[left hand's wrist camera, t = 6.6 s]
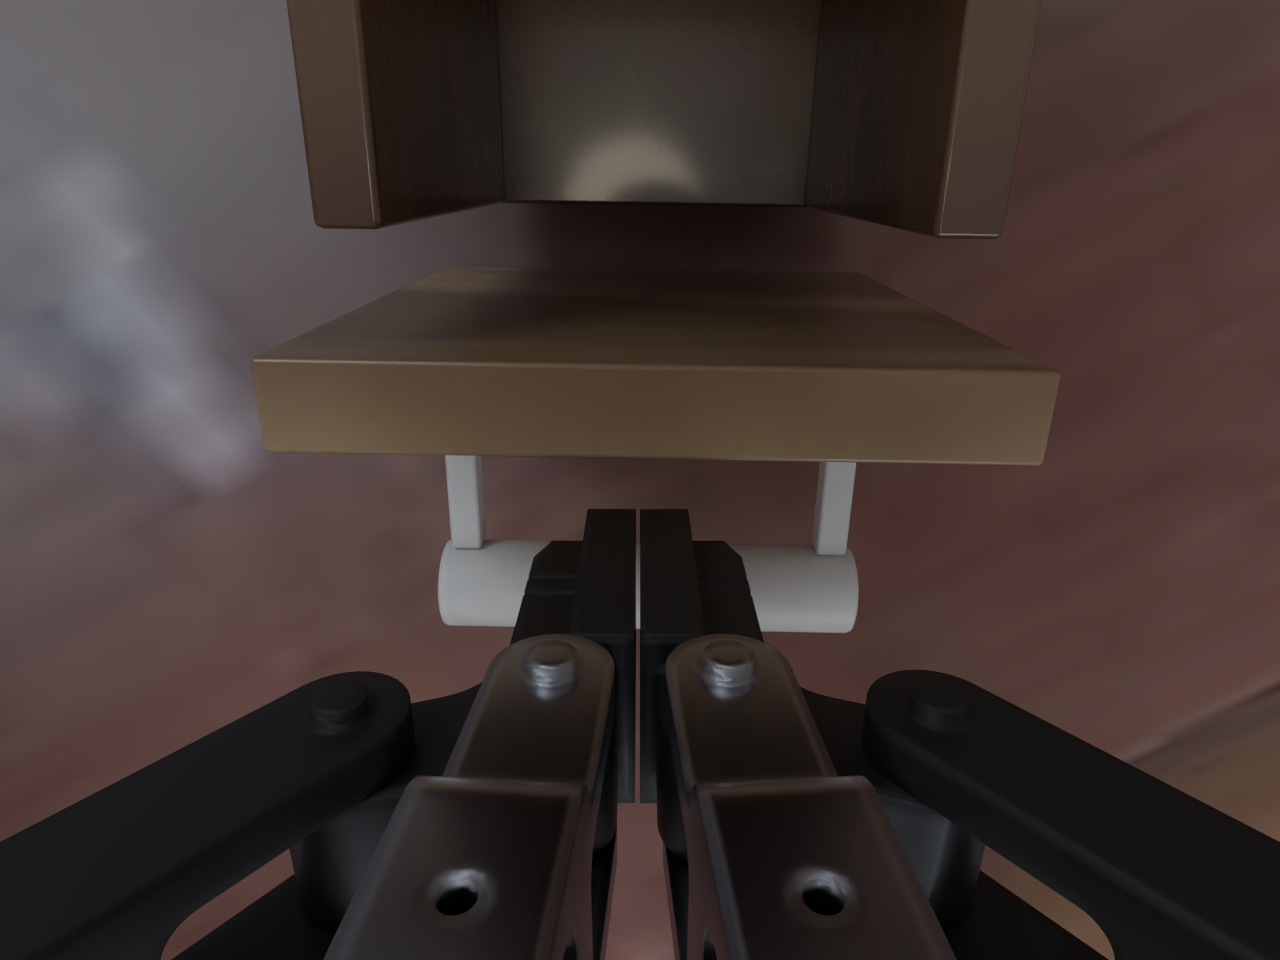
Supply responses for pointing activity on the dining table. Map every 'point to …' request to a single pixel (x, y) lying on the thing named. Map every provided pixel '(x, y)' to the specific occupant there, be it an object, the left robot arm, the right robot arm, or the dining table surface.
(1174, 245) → the dining table surface
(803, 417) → the drawer
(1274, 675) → the dining table surface
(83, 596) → the dining table surface
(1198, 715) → the dining table surface
